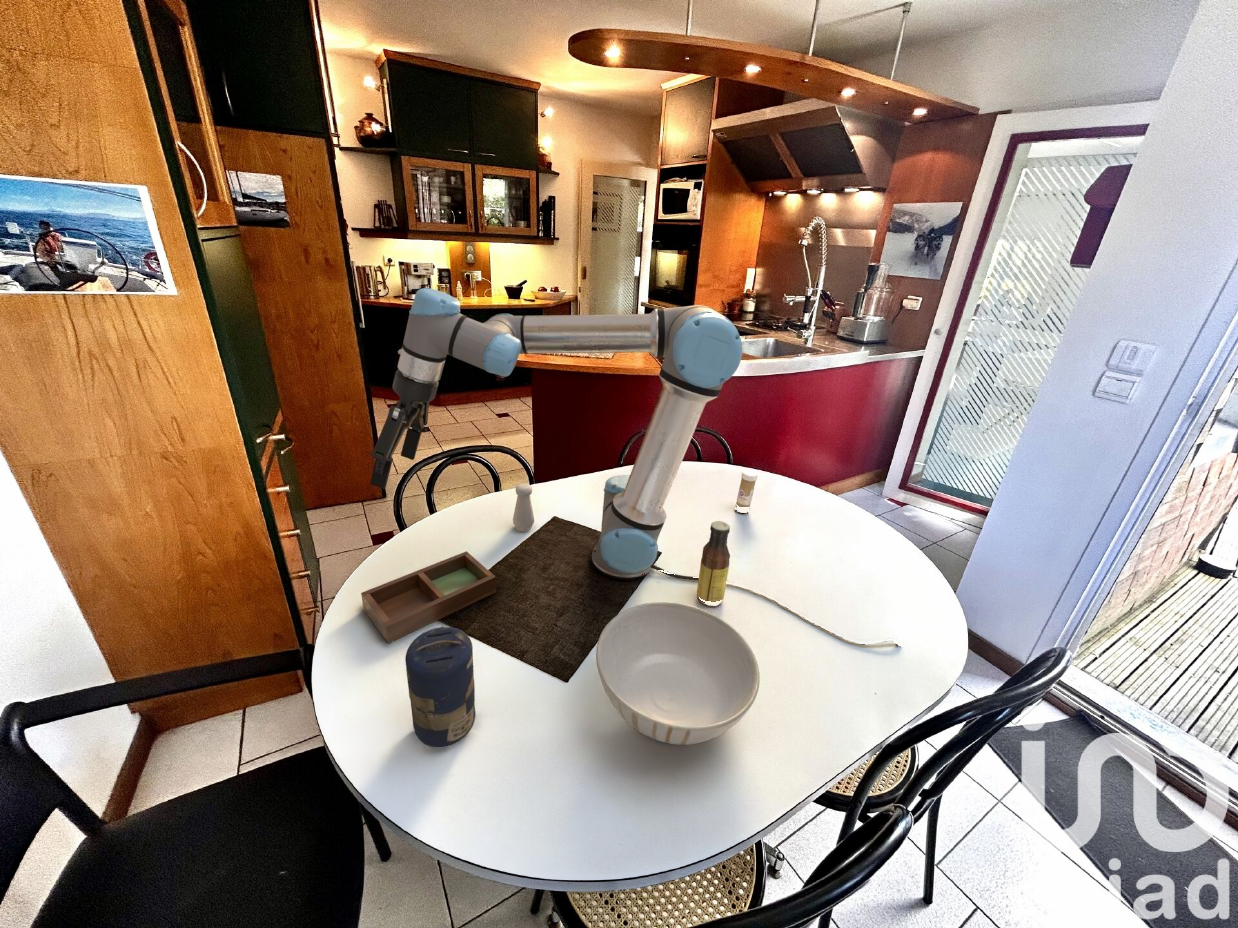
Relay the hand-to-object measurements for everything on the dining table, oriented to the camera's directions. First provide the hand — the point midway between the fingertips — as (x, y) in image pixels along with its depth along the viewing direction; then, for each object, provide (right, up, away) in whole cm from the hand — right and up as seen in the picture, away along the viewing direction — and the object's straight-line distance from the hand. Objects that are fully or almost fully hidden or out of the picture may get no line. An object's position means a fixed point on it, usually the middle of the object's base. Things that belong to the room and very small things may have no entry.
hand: (393, 470), depth 98 cm
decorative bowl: (+54, -41, -12) cm, 69 cm away
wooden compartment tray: (+5, -28, +7) cm, 29 cm away
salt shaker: (+19, -16, +36) cm, 44 cm away
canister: (+17, -41, -19) cm, 48 cm away
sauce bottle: (+66, -30, +15) cm, 74 cm away
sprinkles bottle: (+84, -14, +55) cm, 101 cm away
